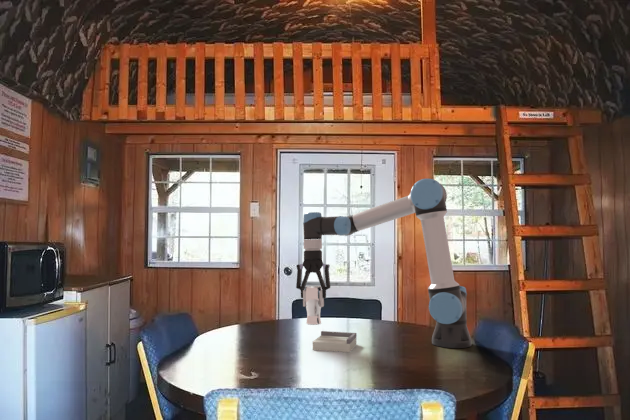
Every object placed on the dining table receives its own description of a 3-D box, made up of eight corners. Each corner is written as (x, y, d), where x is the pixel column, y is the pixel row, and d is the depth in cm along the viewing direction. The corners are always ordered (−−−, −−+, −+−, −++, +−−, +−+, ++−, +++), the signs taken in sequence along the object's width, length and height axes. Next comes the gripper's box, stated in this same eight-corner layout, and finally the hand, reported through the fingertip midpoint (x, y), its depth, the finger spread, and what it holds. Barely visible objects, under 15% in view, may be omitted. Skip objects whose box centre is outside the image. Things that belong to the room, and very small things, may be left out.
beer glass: (302, 324, 209) (302, 287, 210) (309, 322, 216) (308, 285, 216) (318, 325, 206) (318, 287, 207) (324, 322, 213) (324, 286, 214)
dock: (356, 344, 202) (356, 332, 202) (349, 352, 189) (349, 339, 189) (321, 342, 206) (321, 331, 206) (312, 349, 192) (312, 337, 192)
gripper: (337, 249, 214) (338, 305, 213) (292, 249, 219) (293, 304, 217) (333, 249, 207) (334, 307, 205) (287, 250, 212) (288, 307, 210)
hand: (313, 306), depth 211 cm, fingers closed on beer glass, 7 cm apart
